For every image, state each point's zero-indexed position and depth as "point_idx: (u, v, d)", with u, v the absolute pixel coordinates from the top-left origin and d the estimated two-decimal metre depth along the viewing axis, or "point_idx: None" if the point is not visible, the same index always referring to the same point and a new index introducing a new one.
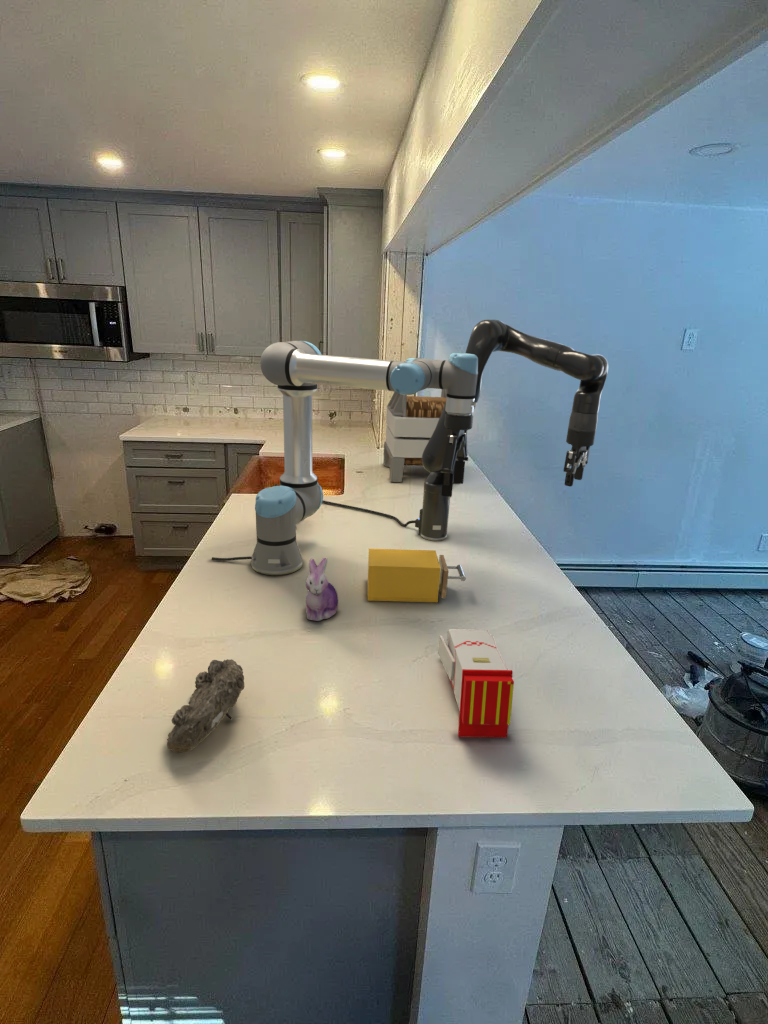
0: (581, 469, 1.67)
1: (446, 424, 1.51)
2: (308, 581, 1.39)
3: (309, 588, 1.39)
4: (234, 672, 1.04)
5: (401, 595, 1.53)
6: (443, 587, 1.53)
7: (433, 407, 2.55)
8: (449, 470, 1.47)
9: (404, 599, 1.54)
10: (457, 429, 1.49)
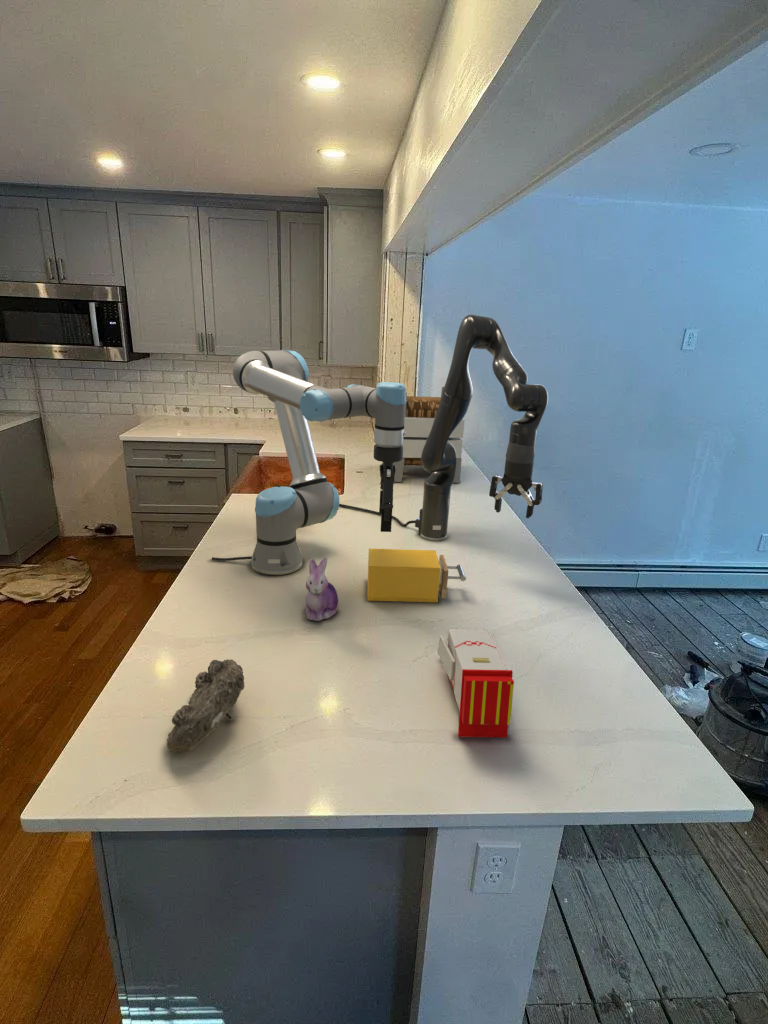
0: None
1: (378, 457, 1.43)
2: (308, 581, 1.39)
3: (309, 588, 1.39)
4: (234, 672, 1.04)
5: (401, 595, 1.53)
6: (443, 587, 1.53)
7: (433, 407, 2.55)
8: (391, 506, 1.40)
9: (404, 599, 1.54)
10: (391, 462, 1.43)
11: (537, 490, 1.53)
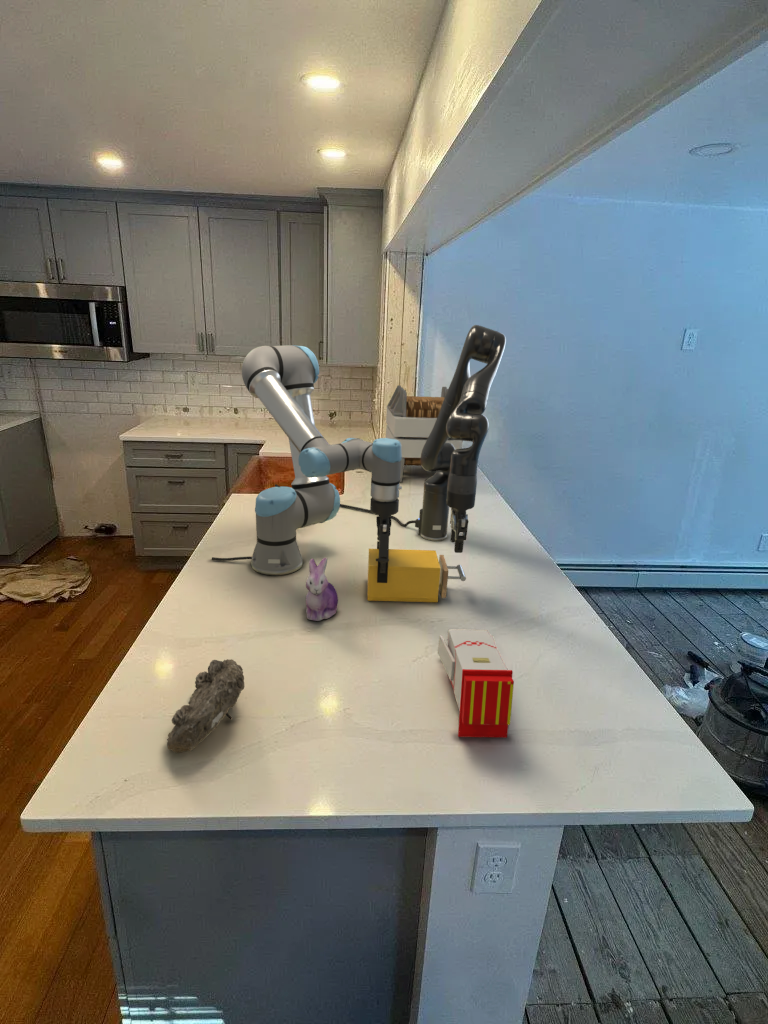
0: None
1: (374, 510, 1.48)
2: (308, 581, 1.39)
3: (309, 588, 1.39)
4: (234, 672, 1.04)
5: (401, 595, 1.53)
6: (443, 587, 1.53)
7: (433, 407, 2.55)
8: (387, 560, 1.46)
9: (404, 599, 1.54)
10: (387, 515, 1.47)
11: (458, 525, 1.47)
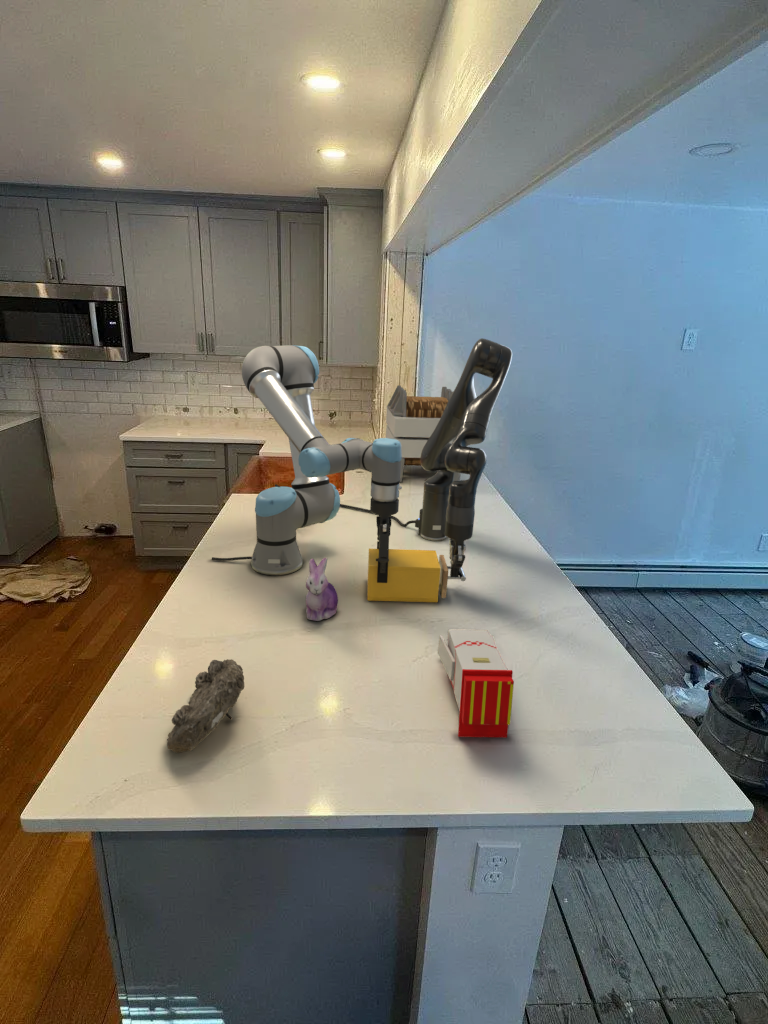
0: None
1: (374, 510, 1.48)
2: (308, 581, 1.39)
3: (309, 588, 1.39)
4: (234, 672, 1.04)
5: (401, 595, 1.53)
6: (443, 587, 1.53)
7: (433, 407, 2.55)
8: (387, 560, 1.46)
9: (404, 599, 1.54)
10: (387, 515, 1.47)
11: (454, 558, 1.51)
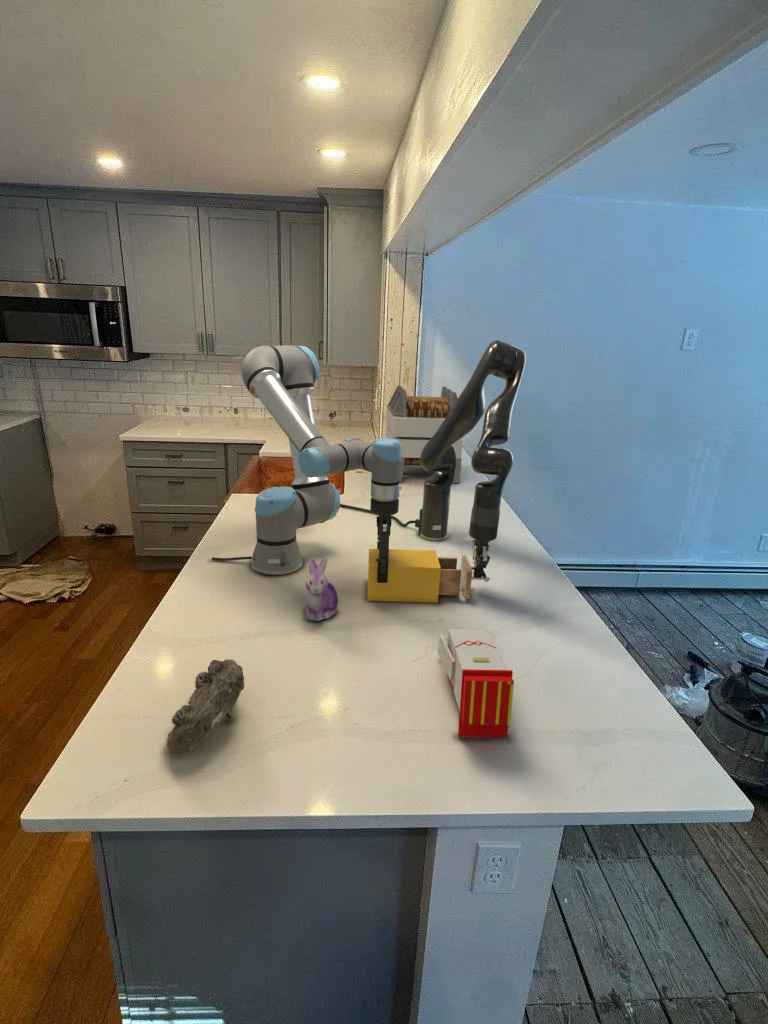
0: None
1: (374, 510, 1.48)
2: (308, 581, 1.39)
3: (309, 588, 1.39)
4: (234, 672, 1.04)
5: (401, 595, 1.53)
6: (467, 588, 1.54)
7: (433, 407, 2.55)
8: (387, 560, 1.46)
9: (404, 599, 1.54)
10: (387, 515, 1.47)
11: (479, 559, 1.51)
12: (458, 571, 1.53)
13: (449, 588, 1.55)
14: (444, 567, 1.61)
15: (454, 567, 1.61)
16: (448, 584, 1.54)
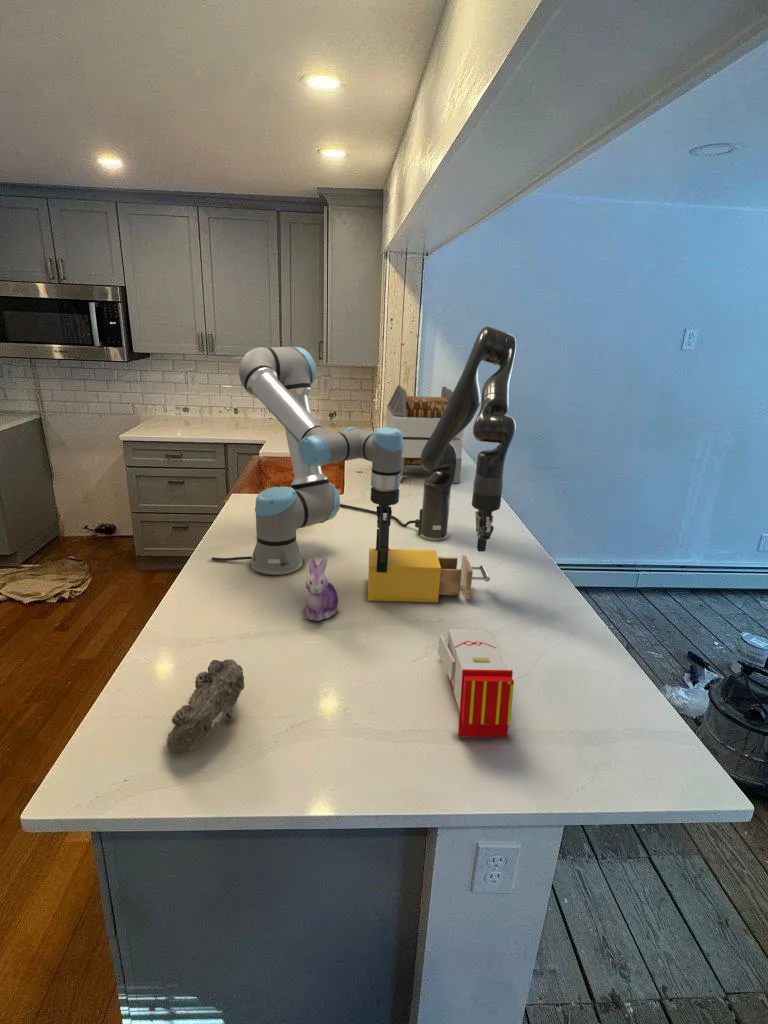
0: None
1: (374, 500, 1.47)
2: (308, 581, 1.39)
3: (309, 588, 1.39)
4: (234, 672, 1.04)
5: (401, 595, 1.53)
6: (467, 588, 1.54)
7: (433, 407, 2.55)
8: (387, 549, 1.44)
9: (404, 599, 1.54)
10: (387, 505, 1.47)
11: (482, 529, 1.49)
12: (458, 571, 1.53)
13: (449, 588, 1.55)
14: (444, 567, 1.61)
15: (454, 567, 1.61)
16: (448, 584, 1.54)
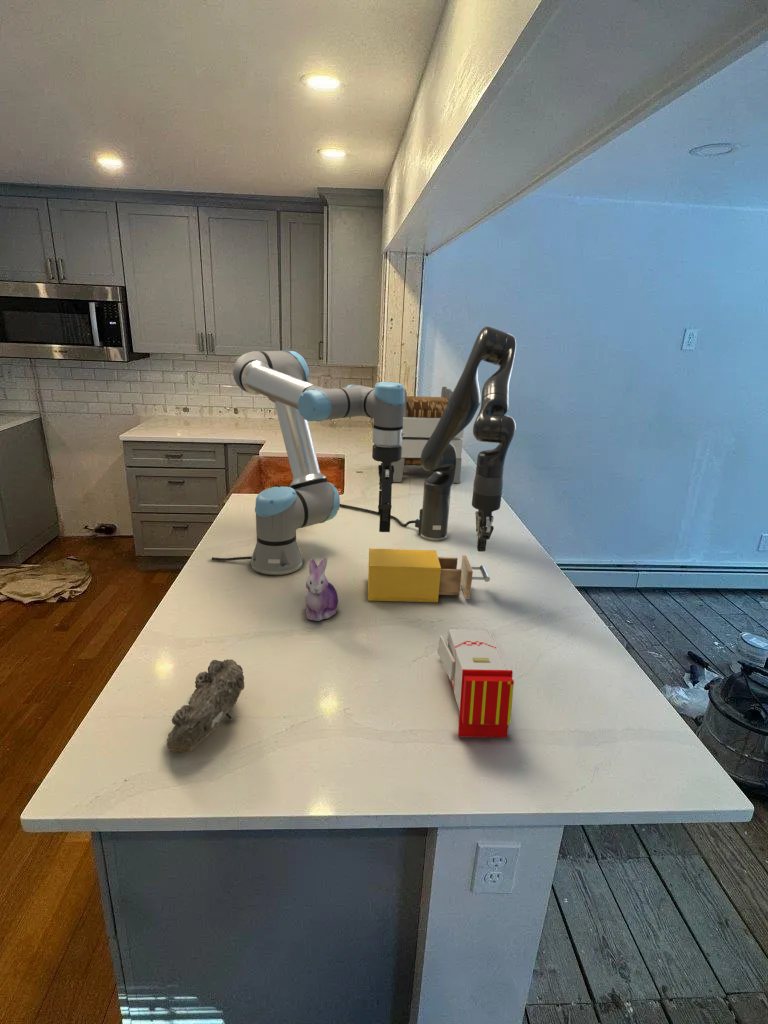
0: None
1: (376, 457, 1.43)
2: (308, 581, 1.39)
3: (309, 588, 1.39)
4: (234, 672, 1.04)
5: (401, 595, 1.53)
6: (467, 588, 1.54)
7: (433, 407, 2.55)
8: (390, 506, 1.40)
9: (404, 599, 1.54)
10: (389, 462, 1.43)
11: (482, 529, 1.49)
12: (458, 571, 1.53)
13: (449, 588, 1.55)
14: (444, 567, 1.61)
15: (454, 567, 1.61)
16: (448, 584, 1.54)
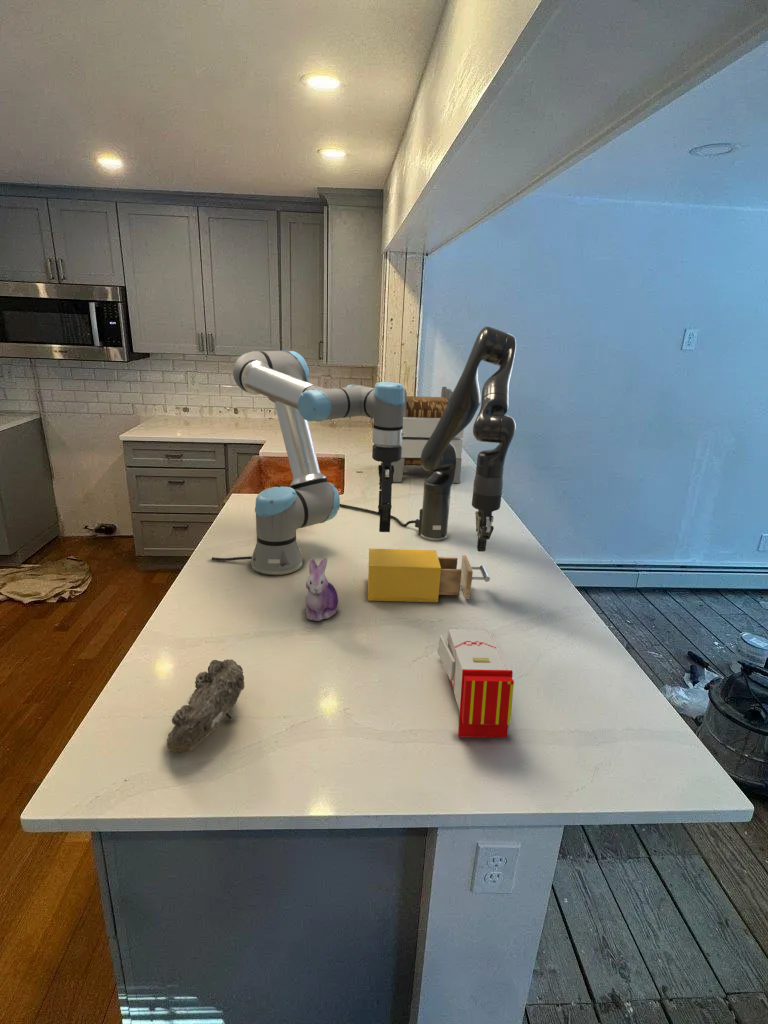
0: None
1: (376, 457, 1.43)
2: (308, 581, 1.39)
3: (309, 588, 1.39)
4: (234, 672, 1.04)
5: (401, 595, 1.53)
6: (467, 588, 1.54)
7: (433, 407, 2.55)
8: (390, 506, 1.40)
9: (404, 599, 1.54)
10: (389, 462, 1.43)
11: (482, 529, 1.49)
12: (458, 571, 1.53)
13: (449, 588, 1.55)
14: (444, 567, 1.61)
15: (454, 567, 1.61)
16: (448, 584, 1.54)
